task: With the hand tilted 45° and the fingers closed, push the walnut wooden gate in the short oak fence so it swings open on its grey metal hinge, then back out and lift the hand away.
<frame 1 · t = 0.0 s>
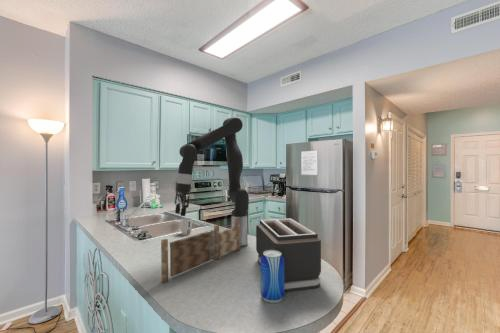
hand: (179, 214, 121), 22 cm above the countertop, tool pointing down, fingers open, 8 cm apart
cup: (186, 234, 163), on the countertop
gate: (194, 251, 109), point 8 cm above the countertop, hinge at 0.0°
fence: (212, 260, 117), on the countertop
beer can: (272, 298, 85), on the countertop
toaster: (284, 271, 107), on the countertop
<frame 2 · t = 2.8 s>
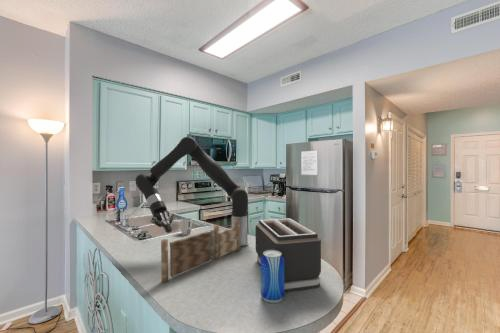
hand: (169, 231, 117), 14 cm above the countertop, tool tilted 45°, fingers closed
nothing on the countertop moved.
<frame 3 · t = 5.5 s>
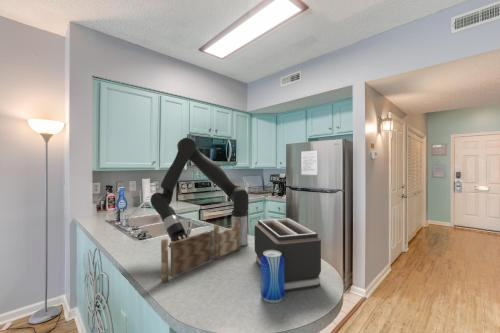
hand: (189, 257, 108), 5 cm above the countertop, tool tilted 45°, fingers closed
gate: (194, 251, 109), point 8 cm above the countertop, hinge at 0.8°, touching gripper
everything else where it was.
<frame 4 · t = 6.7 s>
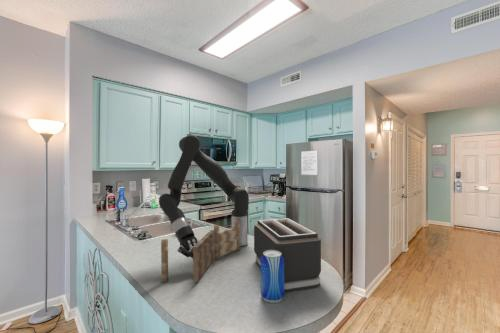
hand: (199, 263, 103), 5 cm above the countertop, tool tilted 45°, fingers closed
gate: (205, 253, 106), point 8 cm above the countertop, hinge at 30.8°, touching gripper
everything else where it was.
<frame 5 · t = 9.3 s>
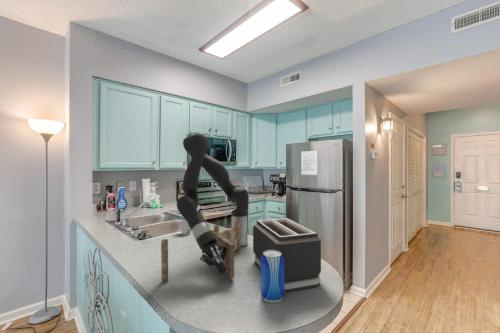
hand: (223, 272, 93), 5 cm above the countertop, tool tilted 45°, fingers closed
gate: (221, 251, 108), point 8 cm above the countertop, hinge at 68.6°, touching hand
everything else where it was.
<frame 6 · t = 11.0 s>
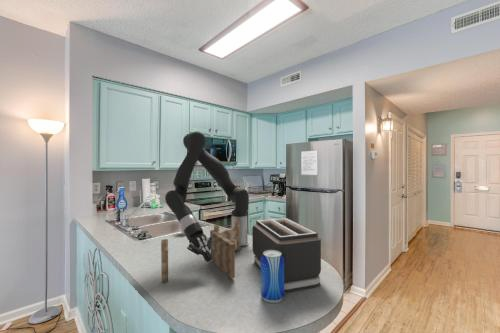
hand: (209, 260, 100), 7 cm above the countertop, tool tilted 45°, fingers closed
gate: (221, 251, 108), point 8 cm above the countertop, hinge at 69.2°
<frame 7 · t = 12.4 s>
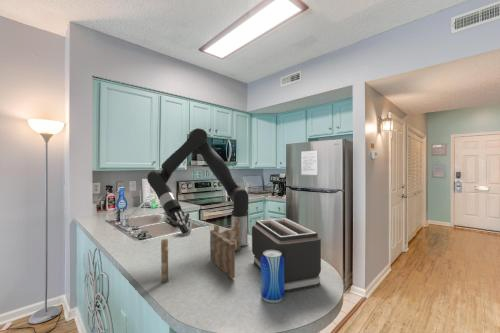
hand: (185, 232, 109), 16 cm above the countertop, tool tilted 45°, fingers closed
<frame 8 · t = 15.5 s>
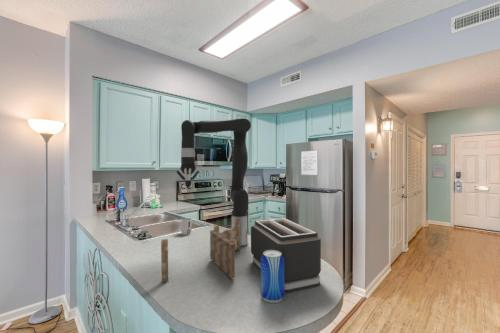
hand: (188, 187, 133), 35 cm above the countertop, tool pointing down, fingers closed
at the end: gate at +69° (first picture: +0°); beer can moved 0.2 cm from its start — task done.
